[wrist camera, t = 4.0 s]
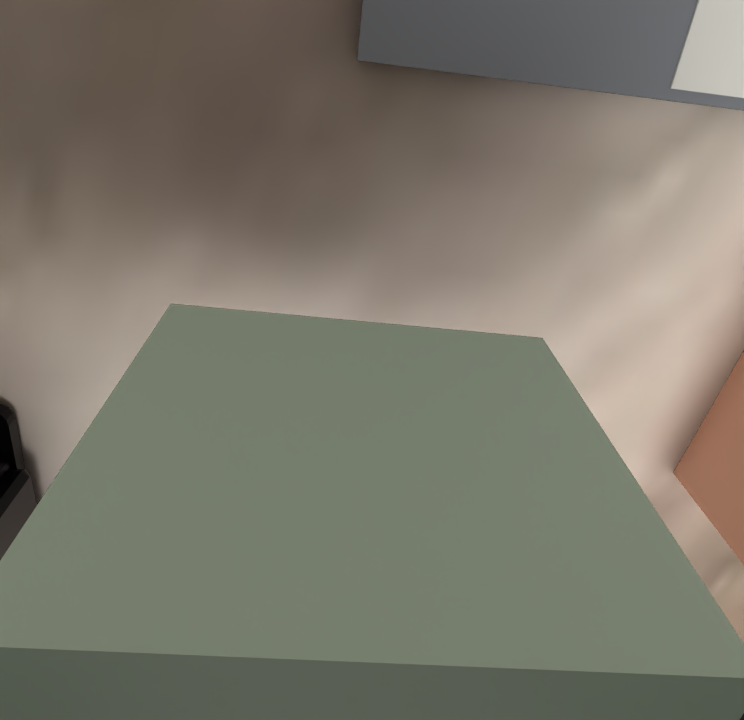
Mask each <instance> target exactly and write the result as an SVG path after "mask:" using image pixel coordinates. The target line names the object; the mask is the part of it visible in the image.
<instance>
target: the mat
mask: <svg viewBox="0 0 744 720" xmlns="http://www.w3.org/2000/svg"><path fill="white" fill-rule="evenodd" d="M357 60H359V61H366V62H374V63H382V64H389V65H397V66H405V67H413V68H420V69H428V70H436V71H443V72H451V73H459V74H467V75H474V76H482V77H490V78H497V79H505V80H513V81H520V82H528V83H536V84H544V85H551V86H559V87H567V88H574V89H582V90H590V91H598V92H605V93H613V94H621V95H628V96H636V97H644V98H652V99H659V100H667V101H675V102H682V103H690V104H698V105H706V106H713V107H721V108H729V109H736V110H744V0H363V1H362V12H361V23H360V33H359V44H358V54H357Z"/></svg>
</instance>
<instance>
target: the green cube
mask: <svg viewBox="0 0 744 720" xmlns="http://www.w3.org/2000/svg"><path fill="white" fill-rule="evenodd" d="M743 714H744V644H743V642H742V641H741V639H740V638H739V636H738V634H737V633H736V631H735V630H734V628H733V627H732V625H731V624H730V622H729V621H728V619H727V618H726V616H725V615H724V613H723V612H722V610H721V609H720V607H719V606H718V604H717V603H716V601H715V600H714V598H713V597H712V595H711V593H710V592H709V590H708V589H707V587H706V586H705V584H704V583H703V581H702V580H701V578H700V577H699V575H698V574H697V572H696V571H695V569H694V568H693V566H692V565H691V563H690V562H689V560H688V559H687V557H686V555H685V554H684V552H683V551H682V549H681V548H680V546H679V545H678V543H677V542H676V540H675V539H674V537H673V536H672V534H671V533H670V531H669V530H668V528H667V527H666V525H665V524H664V522H663V521H662V519H661V517H660V516H659V514H658V513H657V511H656V510H655V508H654V507H653V505H652V504H651V502H650V501H649V499H648V498H647V496H646V495H645V493H644V492H643V490H642V489H641V487H640V486H639V484H638V483H637V481H636V480H635V478H634V476H633V475H632V473H631V472H630V470H629V469H628V467H627V466H626V464H625V463H624V461H623V460H622V458H621V457H620V455H619V454H618V452H617V451H616V449H615V448H614V446H613V445H612V443H611V442H610V440H609V438H608V437H607V435H606V434H605V432H604V431H603V429H602V428H601V426H600V425H599V423H598V422H597V420H596V419H595V417H594V416H593V414H592V413H591V411H590V410H589V408H588V407H587V405H586V404H585V402H584V401H583V399H582V397H581V396H580V394H579V393H578V391H577V390H576V388H575V387H574V385H573V384H572V382H571V381H570V379H569V378H568V376H567V375H566V373H565V372H564V370H563V369H562V367H561V366H560V364H559V363H558V361H557V359H556V358H555V356H554V355H553V353H552V352H551V350H550V349H549V347H548V346H547V344H546V343H545V341H544V340H543V338H538V337H527V336H517V335H506V334H495V333H484V332H473V331H462V330H451V329H441V328H430V327H419V326H408V325H397V324H386V323H375V322H365V321H354V320H343V319H332V318H321V317H310V316H300V315H289V314H278V313H267V312H256V311H245V310H234V309H224V308H213V307H202V306H191V305H180V304H170V306H169V307H168V309H167V310H166V312H165V313H164V315H163V316H162V318H161V319H160V321H159V322H158V324H157V325H156V327H155V328H154V330H153V331H152V333H151V334H150V336H149V337H148V339H147V341H146V342H145V344H144V345H143V347H142V348H141V350H140V351H139V353H138V354H137V356H136V357H135V359H134V360H133V362H132V363H131V365H130V366H129V368H128V369H127V371H126V372H125V374H124V375H123V377H122V378H121V380H120V381H119V383H118V384H117V386H116V387H115V389H114V390H113V392H112V393H111V395H110V396H109V398H108V399H107V401H106V402H105V404H104V405H103V407H102V408H101V410H100V411H99V413H98V414H97V416H96V417H95V419H94V420H93V422H92V423H91V425H90V426H89V428H88V429H87V431H86V432H85V434H84V435H83V437H82V438H81V440H80V441H79V443H78V444H77V446H76V447H75V449H74V450H73V452H72V453H71V455H70V456H69V458H68V459H67V461H66V463H65V464H64V466H63V467H62V469H61V470H60V472H59V473H58V475H57V476H56V478H55V479H54V481H53V482H52V484H51V485H50V487H49V488H48V490H47V491H46V493H45V494H44V496H43V497H42V499H41V500H40V502H39V503H38V505H37V506H36V508H35V509H34V511H33V512H32V514H31V515H30V517H29V518H28V520H27V521H26V523H25V524H24V526H23V527H22V529H21V530H20V532H19V533H18V535H17V536H16V538H15V539H14V541H13V542H12V544H11V545H10V547H9V548H8V550H7V551H6V553H5V554H4V556H3V557H2V559H1V560H0V720H740V718H741V717H742V715H743Z"/></svg>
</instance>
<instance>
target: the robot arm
mask: <svg viewBox="0 0 744 720" xmlns="http://www.w3.org/2000/svg"><path fill="white" fill-rule="evenodd" d="M36 506H37V505H36V500H35V494H34V489H33V484H32V478H31V476H30V475H29V473H28V472H27V471H26V470H25V466H24V461H23V455H22V450H21V445H20V439H19V434H18V429H17V423H16V418H15V416H14V413H13V412H12V411H11V410H10V409H9V408H8V407H7V406H5V405H3V404H1V403H0V560H1V559H2V557H3V556H4V554H5V553H6V551H7V550H8V548H9V547H10V545H11V544H12V542H13V541H14V539H15V538H16V536H17V535H18V533H19V532H20V530H21V529H22V527H23V526H24V524H25V523H26V521H27V520H28V518H29V517H30V515H31V514H32V512H33V511H34V509H35V508H36ZM740 720H744V714H743V715H742V717H741V718H740Z"/></svg>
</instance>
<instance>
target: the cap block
mask: <svg viewBox="0 0 744 720" xmlns="http://www.w3.org/2000/svg"><path fill="white" fill-rule="evenodd" d="M673 473H674V474H675V476H676V477H677V478H678V480H679V481H680V482H681V484H682V485H683V486H684V487H685V489H686V490H687V491H688V493H689V494H690V495H691V497H692V498H693V499H694V501H695V502H696V503H697V504H698V506H699V507H700V508H701V510H702V511H703V512H704V514H705V515H706V516H707V517H708V519H709V520H710V521H711V523H712V524H713V525H714V527H715V528H716V529H717V530H718V532H719V533H720V534H721V536H722V537H723V538H724V540H725V541H726V542H727V544H728V545H729V546H730V547H731V549H732V550H733V551H734V553H735V554H736V555H737V557H738V558H739V559H740V560H741V562H742V563H743V564H744V351H743V353H742V355H741V356H740V358H739V360H738V362H737V363H736V365H735V367H734V368H733V370H732V372H731V374H730V375H729V377H728V379H727V381H726V382H725V384H724V386H723V387H722V389H721V391H720V393H719V394H718V396H717V398H716V400H715V401H714V403H713V405H712V406H711V408H710V410H709V412H708V413H707V415H706V417H705V419H704V420H703V422H702V424H701V426H700V427H699V429H698V431H697V432H696V434H695V436H694V438H693V439H692V441H691V443H690V445H689V446H688V448H687V450H686V451H685V453H684V455H683V457H682V458H681V460H680V462H679V464H678V465H677V467H676V469H675V470H674V472H673Z"/></svg>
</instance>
